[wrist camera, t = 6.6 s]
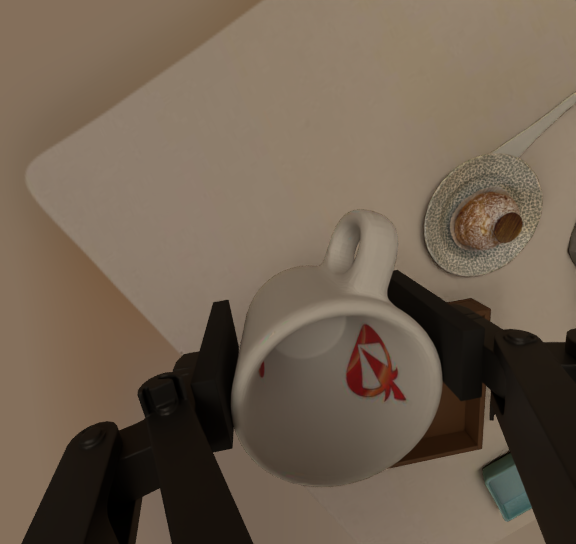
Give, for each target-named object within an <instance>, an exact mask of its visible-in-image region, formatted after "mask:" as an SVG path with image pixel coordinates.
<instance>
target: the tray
mask: <svg viewBox="0 0 576 544" xmlns="http://www.w3.org/2000/svg"><path fill="white" fill-rule="evenodd" d="M453 303H456V304H459V305H462V306H465V307H468V308H469V309H471V310H472V311H474V312H475V313H476V314H479V315H480V316H482V317H483V318H485V319H487V320H488V321H490V315H491V309H490V308H488V307H486V306H485V305H483V304H481V303H479V302H477V301H476V300H474V299H472V298H470V299H464V300H459V301H453V302H448V304H453ZM485 394H486V385H485V384H484V383H483V382H482V397H480V398H475V399H471V400H466V401H460V400H459V399H458V398H457V396H456V395H455V394H454V393H453V392H452V391H451V390H450V389H449V388H448V387H447V386H446V384H445V383H444V382H443V384H442V393H441V398H440V403H439V406H438V409H437V412H436V415H435V417H434V419H433V421H432V423H431V425H430V427H429V428H428V430H427V431H426V433H425V434H424V436H423V437H422V438H421V440H420V441H419V442H418V443H417V444H416V446H415V447H414V448H413V449H412V450H411V451H410V452H409V453H407V454H406V455H405V456H404V457H403V458H402V459H401V460H399V461H398V462H397V463H395V464H394V465H392V466H390V467H389V468H393V467H398V466H403V465H408V464H412V463H417V462H422V461H427V460H431V459H436V458H441V457H445V456H450V455H455V454H460V453H464V452H469V451H474V450H479V449H482V442H483V426H484V410H485ZM389 468H387V469H389Z"/></svg>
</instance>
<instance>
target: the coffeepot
mask: <svg viewBox="0 0 576 544" xmlns="http://www.w3.org/2000/svg"><path fill="white" fill-rule="evenodd" d="M569 253H570V256H571V259H572V261H573V263H574V264H575V265H576V225H575V226H574V229H573V231H572V234H571V238H570V245H569Z"/></svg>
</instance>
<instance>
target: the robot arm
mask: <svg viewBox="0 0 576 544" xmlns="http://www.w3.org/2000/svg"><path fill="white" fill-rule="evenodd" d="M387 296H388V299H389V301H390V302H391V303H392V304H393V305H394V306H396V307H397V308H399V309H400V310H402V311H403V312H405V313H406V314H408V315H409V316H410V317H411V318H413V319H414V320H415V321H416V322H417V323H418V324H419V325H420V326H421V327H422V328H423V329H424V330H425V331H426V333H427V334H428V336H429V337H430V339H431V340H432V342H433V344H434V346H435V348H436V350H437V353H438V355H439V359H440V363H441V368H442V379H443V382H444V383H445V384H446V386H447V387H448V388H449V389H450V390H451V391H452V392H453V393H454V394H455V395H456V396H457V398H458V399H459V400H460V401H466V400H471V399H475V398H480V397H482V382H483V383H484V384H485V385H486V386H487V387H488V388H489V389H490V390H491V398H490V420H494V415H495V414H496V417H497V419H498V422H499V424H500V427H501V429H502V432H503V435H504V437H505V440H506V442H507V445H508V447H509V450H510V453H511V455H512V458H513V460H514V463H515V465H516V468H517V471H518V473H519V476H520V478H521V481H522V483H523V486H524V489H525V491H526V494H527V496H528V499H529V501H530V504H531V507H532V509H533V512H534V514H535V517H536V519H537V522H538V525H539V527H540V530H541V532H542V535H543V537H544V540H545V542H546V544H576V329H571V330H569V331H568V332H567V335H566V342H543V341H542V340H541V339H540V338H539V337H537V336H536V335H534V334H532V333H529V332H526V331H522V330H514V329H507V330H503V329H501V328H500V327H498V326H497V325H495V324H493V323H492V322H490V321H488V320H487V319H485V318H483V317H482V316H480V315H479V314H476V313H475V312H474V311H472V310H471V309H469V308H468V307H465V306H462V305H459V304H456V303H453V304H448V303H447V302H445V301H444V300H442V299H441V298H439V297H438V296H436V295H435V294H433V293H432V292H430V291H429V290H427V289H426V288H424V287H422V286H421V285H419V284H418V283H416V282H415V281H413V280H412V279H410V278H409V277H407V276H406V275H404V274H403V273H401V272H400V271H398V270H394V271H393V273H392V276H391V279H390V282H389V285H388V289H387ZM238 353H239V346H238V341H237V336H236V332H235V327H234V323H233V318H232V313H231V309H230V304H229V300H224V301H219V302H213V306H212V309H211V313H210V316H209V320H208V323H207V327H206V330H205V334H204V337H203V341H202V344H201V348H200V351H199V352H193V353H188V354H184V355H183V356H182V357H181V358H180V359H179V360H178V361H177V362H176V364H175V366H174V369H173V372H167V373H163V374H160V375H157V376H155V377H153V378H151V379H149V380H148V381H146V382H145V383H144V384H142V386H141V387H140V388H139V390H138V398H139V401H140V404H141V406H142V409H143V412H144V415H145V419H144V420H142V421H140V422H138V423H136V424H134V425H132V426H129V427H127V428H124V429H122V430H118V427H117V425H116V424H115V423H114V422H108V421H106V422H100V423H97V424H95V425H92V426H89V427H87V428H86V429H84V430H83V431H81V432H80V433H79V434H77V435H76V436H75V437H74V438H73V439H72V440H71V442H70V443H69V444H68V446H67V448H66V450H65V452H64V454H63V456H62V458H61V460H60V462H59V465H58V467H57V469H56V471H55V473H54V475H53V477H52V480H51V482H50V484H49V486H48V488H47V490H46V492H45V494H44V497H43V499H42V501H41V503H40V505H39V508H38V509H37V512H36V514H35V516H34V518H33V520H32V522H31V524H30V526H29V529H28V531H27V533H26V535H25V537H24V539H23V542H22V544H135V543H136V536H137V530H138V523H139V517H140V510H141V503H142V497H143V496H145V495H147V494H149V493H151V492H153V491H155V490H157V489H159V488H160V490H161V494H162V498H163V504H164V508H165V513H166V518H167V523H168V527H169V532H170V537H171V542H172V544H253V542H252V540H251V537H250V535H249V533H248V531H247V528H246V526H245V524H244V522H243V520H242V517H241V515H240V513H239V510H238V508H237V506H236V504H235V501H234V499H233V497H232V495H231V493H230V490H229V488H228V486H227V483H226V481H225V479H224V477H223V474H222V473H221V470H220V468H219V465H218V463H217V461H216V459H215V456H214V454H213V452H217V451H222V450H227V449H232V446H233V431H234V425H233V422H232V415H231V391H232V385H233V380H234V375H235V370H236V365H237V360H238Z"/></svg>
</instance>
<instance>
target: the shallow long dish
mask: <svg viewBox="0 0 576 544" xmlns="http://www.w3.org/2000/svg"><path fill="white" fill-rule="evenodd" d="M483 477H484V481H485V485H486V486H487V488H488V490H489V492H490V493H491V495H492V497H493V499H494V501H495V502H496V504H497V506H498V508H499V510H500V512H501V514H502V516H503V518H504V520H505V521H507V522H508V521H510V520H512V519H514V518H515V517H517V516H519V515H521V514H523V513H524V512H526V511H528V510H530V509H531V508H532V507H531V504H530V501H529V499H528V496H527V494H526V491H525V489H524V486H523V483H522V481H521V478H520V476H519V473H518V471H517V468H516V465H515V463H514V460H513V458H512V455H511V453H509V454H508V455H506V456H504V457H502V458H501V459H499V460H497V461H496V462H494V463H492V464H490V465H489V466H487V467H485V468H484V469H483Z"/></svg>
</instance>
